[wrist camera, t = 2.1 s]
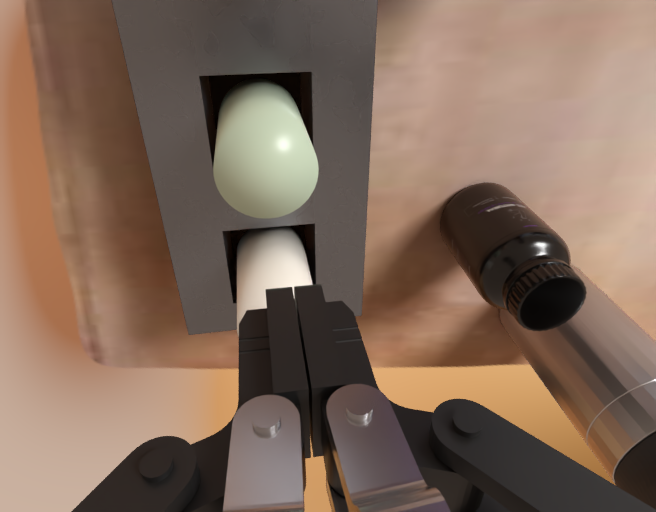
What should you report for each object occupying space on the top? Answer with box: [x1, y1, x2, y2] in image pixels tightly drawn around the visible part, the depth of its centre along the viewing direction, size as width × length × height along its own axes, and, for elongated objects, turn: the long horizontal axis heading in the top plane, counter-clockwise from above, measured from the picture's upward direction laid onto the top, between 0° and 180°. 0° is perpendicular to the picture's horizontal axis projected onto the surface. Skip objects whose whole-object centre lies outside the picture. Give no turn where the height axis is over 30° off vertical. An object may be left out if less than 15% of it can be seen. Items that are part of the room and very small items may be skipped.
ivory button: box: [237, 226, 313, 337], centre depth 30 cm, size 5×5×8 cm
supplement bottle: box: [440, 183, 587, 332], centre depth 35 cm, size 7×7×12 cm
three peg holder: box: [112, 0, 378, 335], centre depth 29 cm, size 30×13×6 cm, turn 0°
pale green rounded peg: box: [213, 78, 319, 219], centre depth 24 cm, size 5×5×8 cm
